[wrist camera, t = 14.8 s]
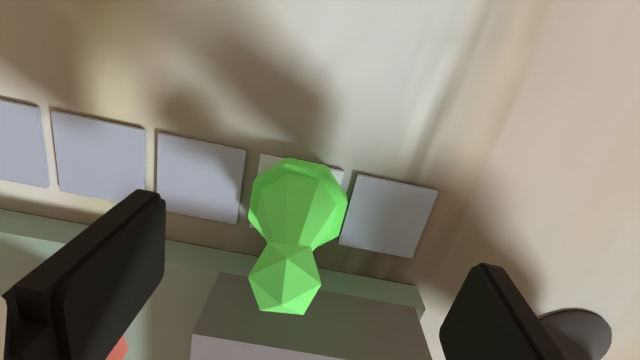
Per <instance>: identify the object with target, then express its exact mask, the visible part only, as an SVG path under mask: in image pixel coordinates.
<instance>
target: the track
mask: <svg viewBox="0 0 640 360" xmlns="http://www.w3.org/2000/svg"><path fill="white" fill-rule="evenodd" d="M51 118H52V127H53V135H54V144H55V153H56V161H57V170H58V179H59V187H60V191H63V192H68V193H73V194H78V195H84V196H89V197H94V198H99V199H104V200H110V201H115V202H121V201H122V200H123V199H125V198H126V197H127V196H128V195H130V194H131V193H132V192H134V191H135V190H137V189H142V190H145V129H142V128H137V127H133V126H128V125H123V124H118V123H114V122H109V121H104V120H99V119H94V118H90V117H85V116H80V115H75V114H70V113H66V112H61V111H56V110H53V111H51ZM246 153H247V150H243V149H238V148H233V147H228V146H224V145H219V144H214V143H209V142H205V141H200V140H195V139H190V138H185V137H181V136H176V135H171V134H166V133H161V132H160V133H158V149H157V193H159V194H160V196H161V199H164V200H165V202H166V211H167V212H172V213H177V214H183V215H188V216H193V217H198V218H203V219H209V220H214V221H219V222H224V223H229V224H235V225H236V224H237V220H238V213H239V205H240V198H241V190H242V183H243V175H244V168H245V160H246ZM284 159H286V158H281V157H276V156H272V155H267V154H262V153H261V154H260V159H259V165H258V172H257V176H258V175H260V174H262V173H263V172H265V171H266V170H268V169H270V168H271V167H273V166H274V165H276V164H278V163H279V162H281V161H283V160H284ZM328 168H329V167H328ZM329 170H330V171H331V173H332V174H333V176H334V177H335V179H336V180H337V181H338V183H339V184H340V186H341V183H342V179H343V176H344V171H343V170H339V169H334V168H329ZM0 180H5V181H11V182H16V183H21V184H26V185H32V186H37V187H42V188H47V187H49V180H48V172H47V165H46V157H45V149H44V141H43V134H42V126H41V118H40V110H39V107H37V106H32V105H27V104H23V103H18V102H13V101H8V100H3V99H0ZM438 193H439V192H438V190H434V189H430V188H425V187H420V186H415V185H410V184H406V183H401V182H396V181H391V180H387V179H382V178H377V177H372V176H367V175H363V174H357V177H356V181H355V184H354V188H353V191H352V195H351V198H350V202H349V205H348V209H347V212H346V216H345V219H344V223H343V226H342V230H341V233H340V237H339V240H338V244H339V245H344V246H349V247H354V248H360V249H365V250H370V251H375V252H380V253H386V254H391V255H396V256H401V257H406V258H412V257H413V254H414V252H415V249H416V247H417V244H418V242H419V240H420V237H421V235H422V232H423V230H424V227H425V225H426V222H427V220H428V217H429V215H430V212H431V210H432V207H433V205H434V203H435V200H436V198H437V195H438ZM249 227H250V228H255V227H254V225H253V224H252V223H251V222H250V225H249ZM255 229H256V228H255Z"/></svg>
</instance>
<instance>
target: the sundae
mask: <svg viewBox="0 0 640 360" xmlns="http://www.w3.org/2000/svg"><path fill="white" fill-rule="evenodd" d="M540 323H541V324H542V326H543V327H544V328H545V330H546V331H547V333H548V334H549V336H550V337H551V339H552V340H553V342H554V343H555V345H556V346H557V347H558V349H559V350H560V352H561V353H562V355H563V356H564V358H565V359H566V360H600V359H601V358H602V357H603V356H604V355H605V354H606V353H607V351H608V350H609V347H610V345H611V338H612V333H611V328H610V326H609V325H608V323H607V322H606V321H605V320H604V319H603V318H601V317H599V316H597V315H595V314H592V313H589V312H582V311H567V312H562V313H557V314H554V315H550V316H548V317H546V318H544V319H541V320H540Z"/></svg>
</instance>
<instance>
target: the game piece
mask: <svg viewBox="0 0 640 360" xmlns="http://www.w3.org/2000/svg"><path fill="white" fill-rule="evenodd" d="M347 204H348V201H347V195H346V193H345V192H344V190H343V189H342V187H341V186H340V184H339V183H338V181H337V180H336V179H335V177H334V176H333V174H332V173H331V171H330V170H329V168H328V167H327V165H323V164H318V163H313V162H308V161H304V160H299V159H294V158H289V157H287V158H286V159H284V160H283V161H281V162H279V163H278V164H276V165H274V166H273V167H271V168H270V169H268V170H266V171H265V172H263V173H262V174H260V175H258V176H257V177H256V178H255V180H254V183H253V186H252V192H251V199H250V206H249V213H248V219H249V221H250V222H251V223H252V224H253V225H254V227H255V228H256V229H257V230H258V231H259V233H260V234H261V235H262V236H263V237H264V239H265V240H266V242H267V245H266V247H265V248H264V250H263V252H262V253H261V255H260V257H259V258H258V260H257V262H256V263H255V265H254V267H253V268H252V270H251V272H250V273H249V275H248V279H249V281H250V284H251V287H252V290H253V292H254V295H255V298H256V301H257V304H258V306H259V309H260V311H270V312H280V313H289V314H299V315H304V313H305V311H306V310H307V308H308V306H309V305H310V303H311V301H312V299H313V298H314V296H315V294H316V293H317V291H318V289H319V288H320V286H321V281H320V277H319V273H318V270H317V266H316V263H315V259H314V256H313V250H314V249H315V248H317V247H319V246H320V245H322V244H324V243H326V242H328V241H330V240H332V239H334V238H336V237H337V236H339V232H340V229H341V225H342V222H343V218H344V215H345V211H346V208H347Z"/></svg>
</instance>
